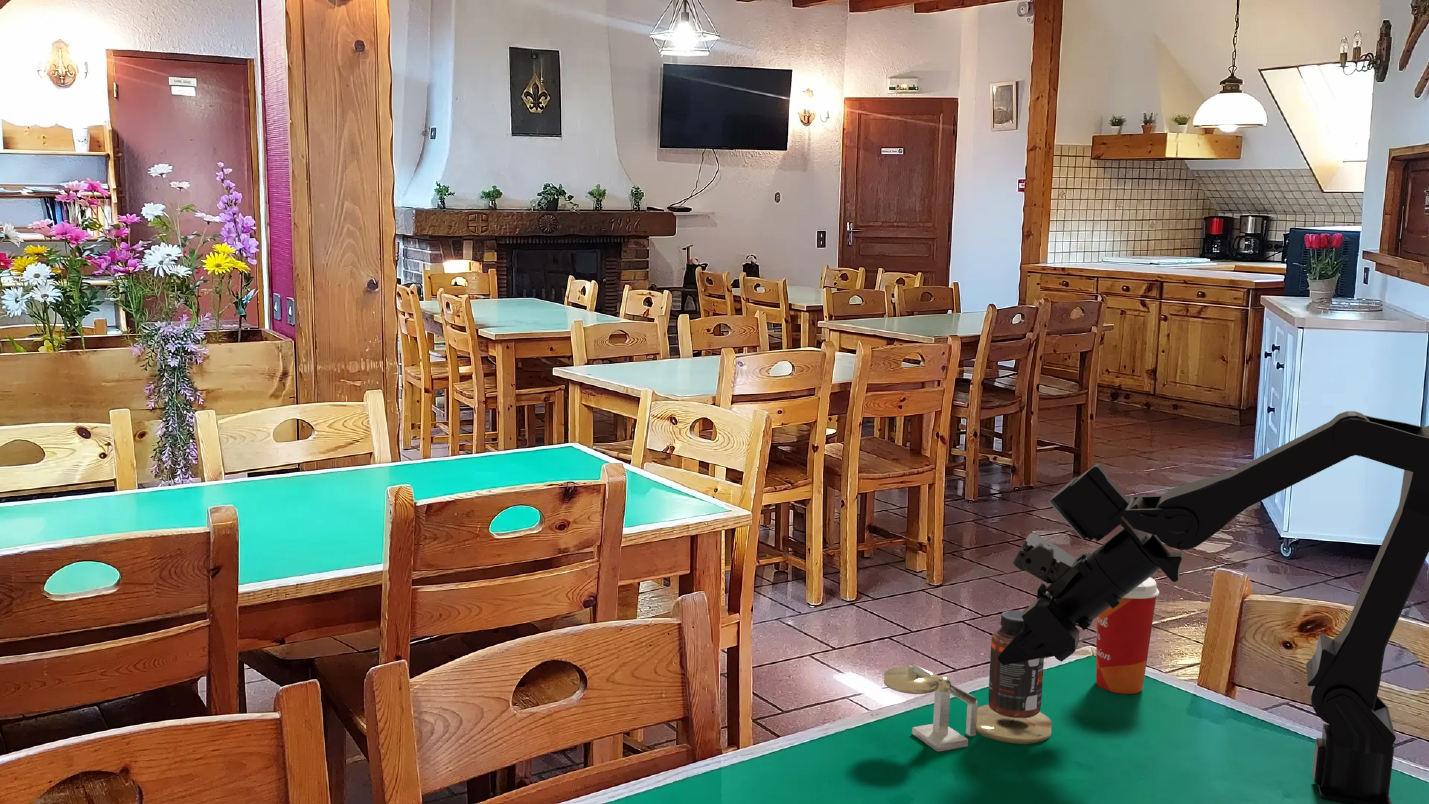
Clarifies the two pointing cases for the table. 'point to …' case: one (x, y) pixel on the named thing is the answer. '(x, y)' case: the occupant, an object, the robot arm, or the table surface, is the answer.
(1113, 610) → the paper cup
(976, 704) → the balance
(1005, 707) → the supplement bottle
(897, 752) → the table surface
